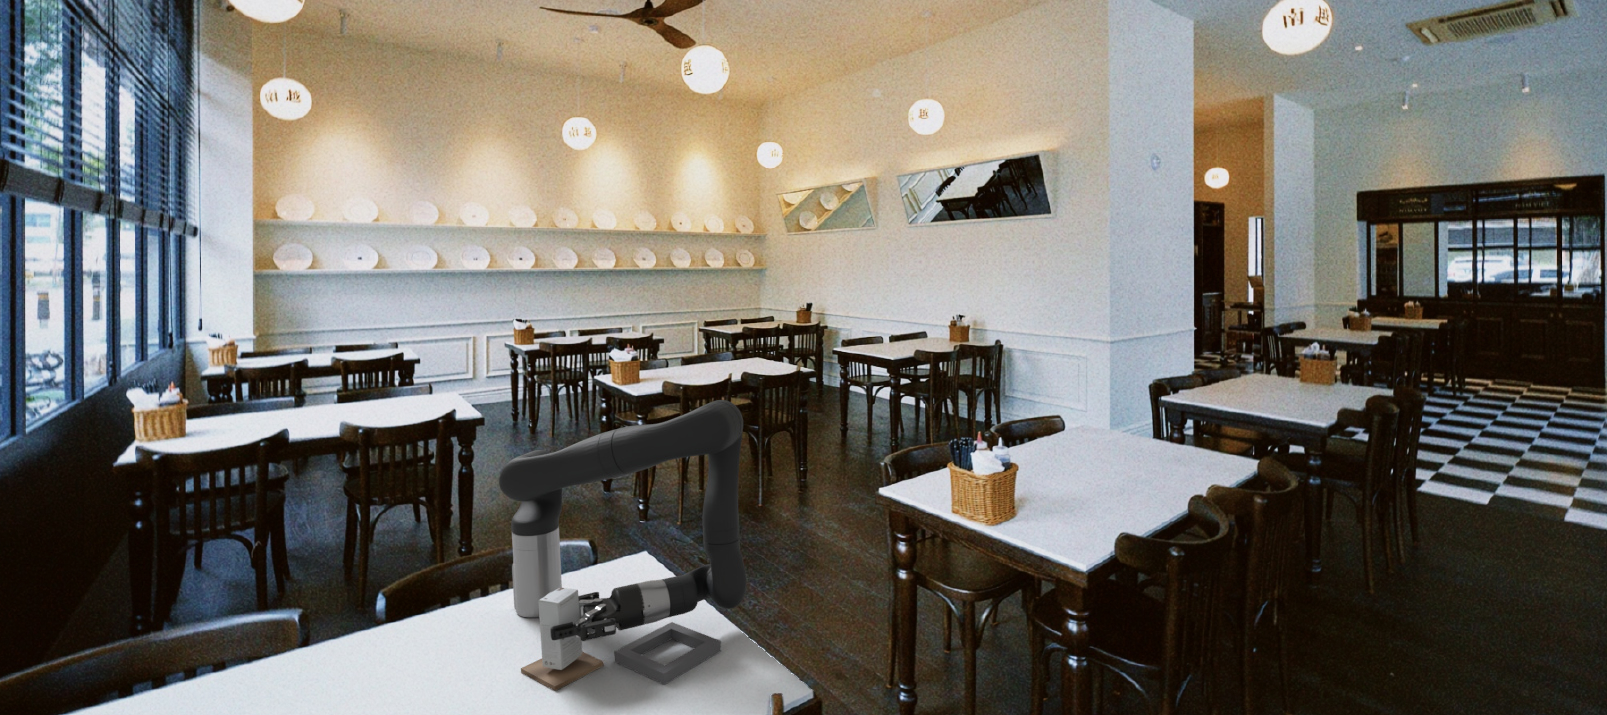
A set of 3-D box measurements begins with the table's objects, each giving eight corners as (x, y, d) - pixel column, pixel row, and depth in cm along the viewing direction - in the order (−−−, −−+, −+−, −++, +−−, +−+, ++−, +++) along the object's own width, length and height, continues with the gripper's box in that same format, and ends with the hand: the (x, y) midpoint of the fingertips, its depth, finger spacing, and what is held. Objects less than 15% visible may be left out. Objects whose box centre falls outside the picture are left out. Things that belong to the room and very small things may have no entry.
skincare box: (562, 671, 127) (558, 603, 126) (540, 667, 128) (536, 600, 127) (583, 653, 133) (580, 588, 132) (562, 650, 134) (558, 586, 133)
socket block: (614, 661, 133) (614, 651, 133) (672, 631, 144) (671, 621, 144) (664, 684, 125) (663, 673, 125) (721, 651, 136) (720, 640, 136)
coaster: (521, 672, 130) (520, 668, 130) (569, 649, 138) (569, 645, 138) (555, 690, 124) (555, 686, 124) (603, 665, 132) (603, 661, 132)
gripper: (629, 571, 143) (539, 589, 135) (651, 598, 130) (553, 621, 122) (631, 608, 143) (541, 628, 136) (653, 639, 131) (555, 664, 123)
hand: (547, 625), depth 129 cm, fingers closed on skincare box, 7 cm apart
